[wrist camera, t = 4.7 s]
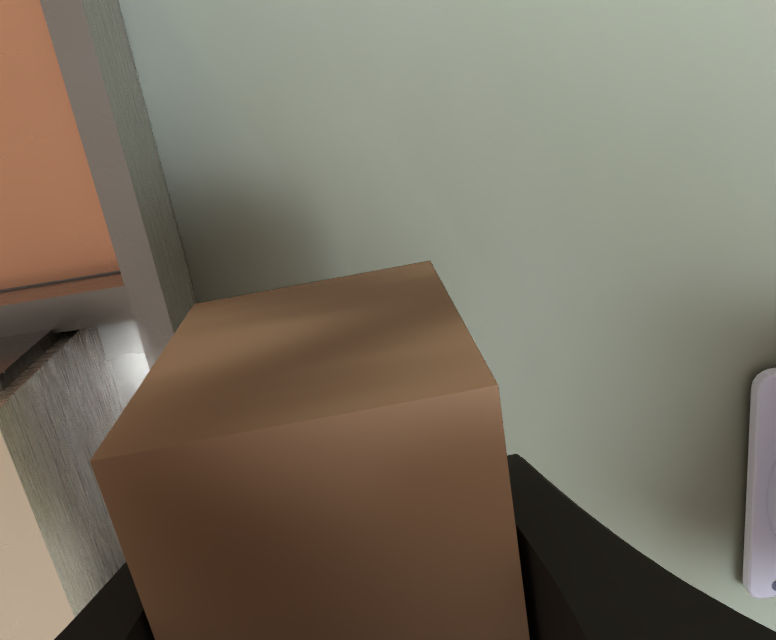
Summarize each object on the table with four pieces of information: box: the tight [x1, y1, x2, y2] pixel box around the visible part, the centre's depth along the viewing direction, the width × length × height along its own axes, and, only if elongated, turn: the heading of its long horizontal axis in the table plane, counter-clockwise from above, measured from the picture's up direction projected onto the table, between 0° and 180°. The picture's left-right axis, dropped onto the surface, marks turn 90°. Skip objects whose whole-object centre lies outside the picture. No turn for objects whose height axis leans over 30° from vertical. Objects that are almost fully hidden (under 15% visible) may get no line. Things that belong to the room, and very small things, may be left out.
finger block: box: [90, 261, 530, 640], centre depth 10 cm, size 4×8×5 cm, turn 9°
